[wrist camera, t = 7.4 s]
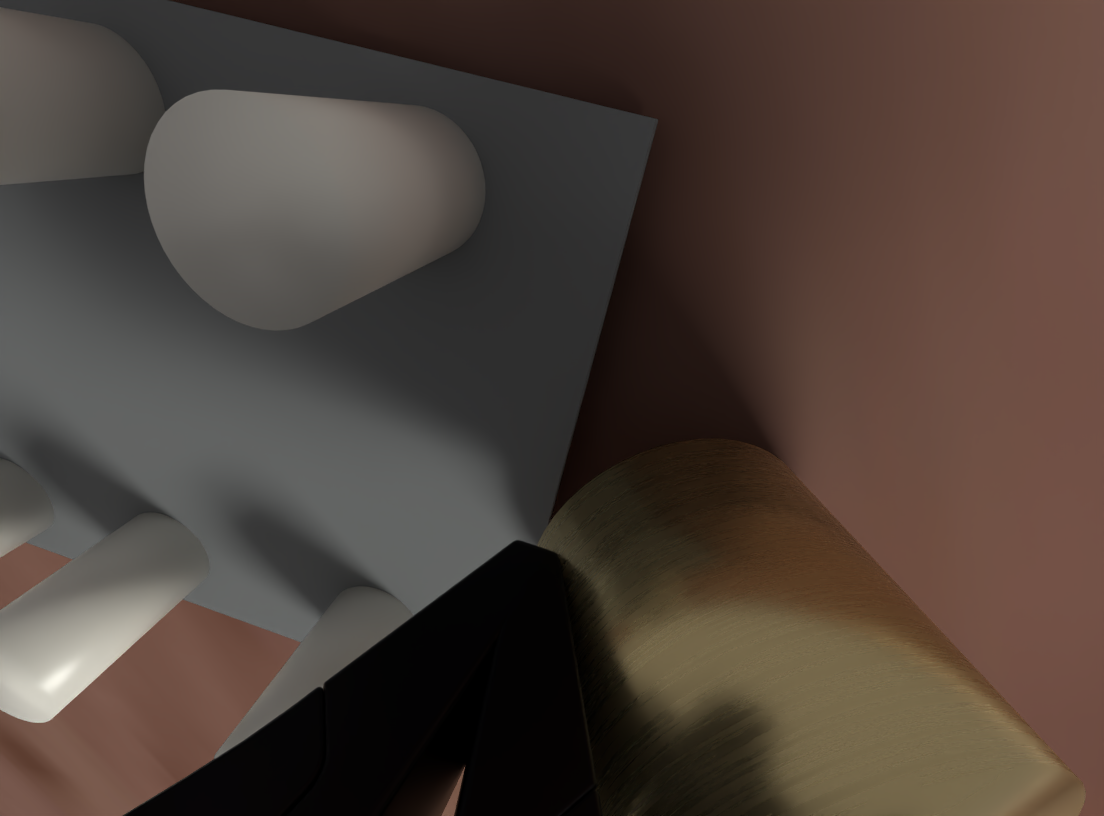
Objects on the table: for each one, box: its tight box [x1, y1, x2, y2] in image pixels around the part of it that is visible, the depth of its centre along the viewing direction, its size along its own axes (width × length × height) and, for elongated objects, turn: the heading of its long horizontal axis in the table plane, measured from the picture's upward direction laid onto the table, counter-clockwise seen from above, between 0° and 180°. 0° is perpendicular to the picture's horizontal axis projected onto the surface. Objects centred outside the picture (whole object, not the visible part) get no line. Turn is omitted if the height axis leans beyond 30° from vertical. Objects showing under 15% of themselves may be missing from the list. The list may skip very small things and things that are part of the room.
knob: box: [537, 439, 1086, 816], centre depth 7 cm, size 5×5×5 cm
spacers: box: [0, 7, 486, 759], centre depth 9 cm, size 11×12×4 cm
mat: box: [0, 0, 658, 642], centre depth 11 cm, size 12×14×1 cm
